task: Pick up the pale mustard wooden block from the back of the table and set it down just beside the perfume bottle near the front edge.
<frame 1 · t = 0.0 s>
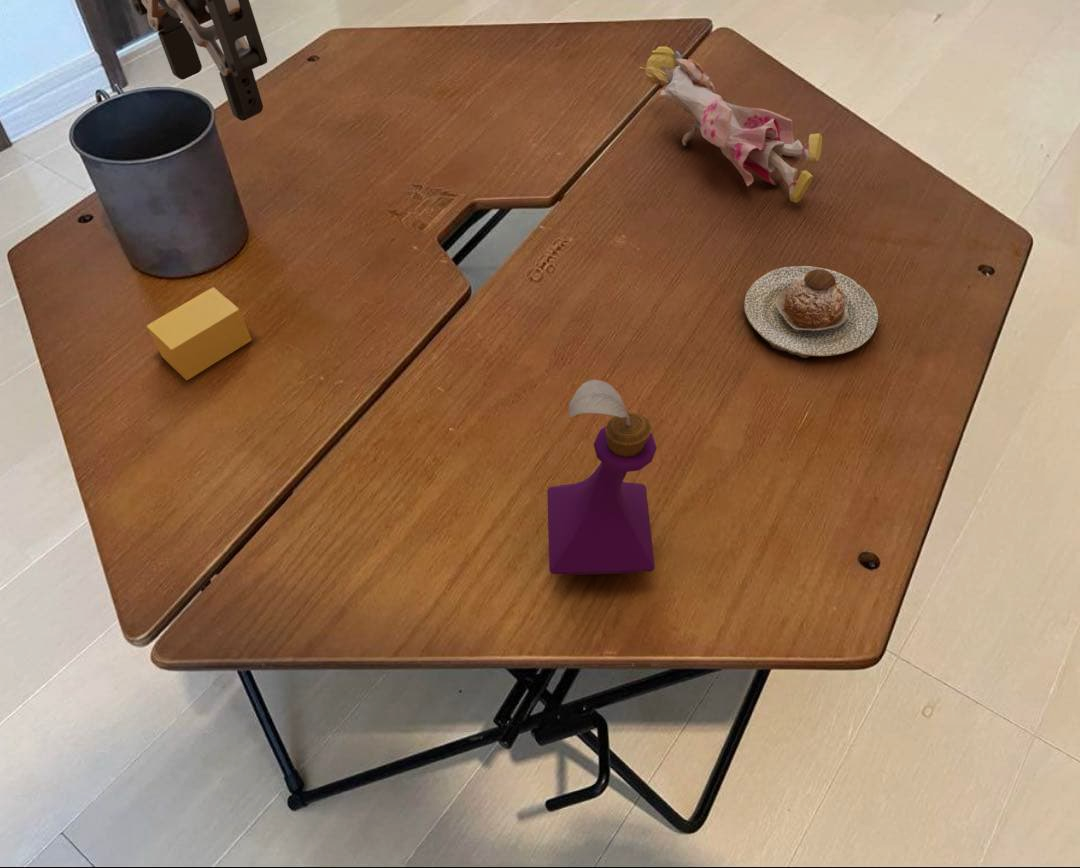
hand: (218, 94, 69), 22 cm above the table, tool pointing down, fingers open, 8 cm apart
block: (207, 348, 84), on the table
figurine: (713, 159, 100), on the table
perfume bottle: (598, 551, 69), on the table
pastry: (807, 318, 84), on the table
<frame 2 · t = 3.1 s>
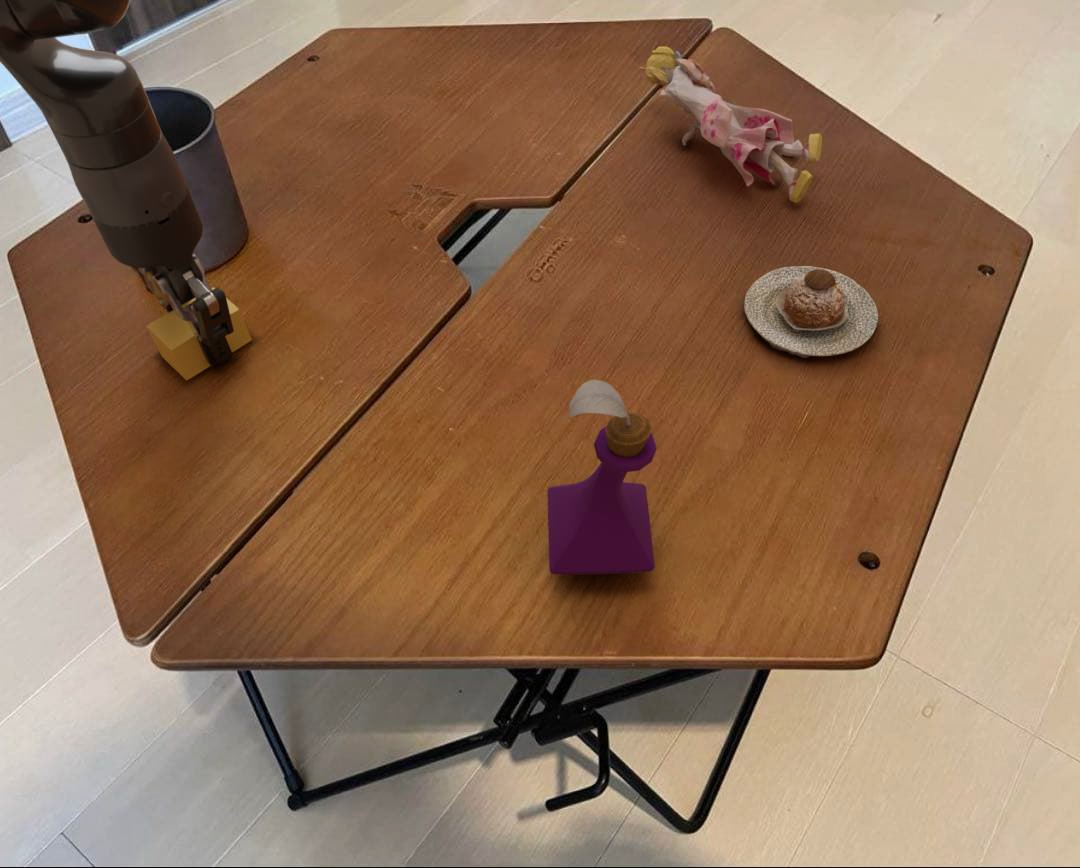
hand: (206, 346, 84), 0 cm above the table, tool pointing down, fingers closed on block, 4 cm apart
block: (207, 348, 84), on the table, touching gripper
everything else where it was.
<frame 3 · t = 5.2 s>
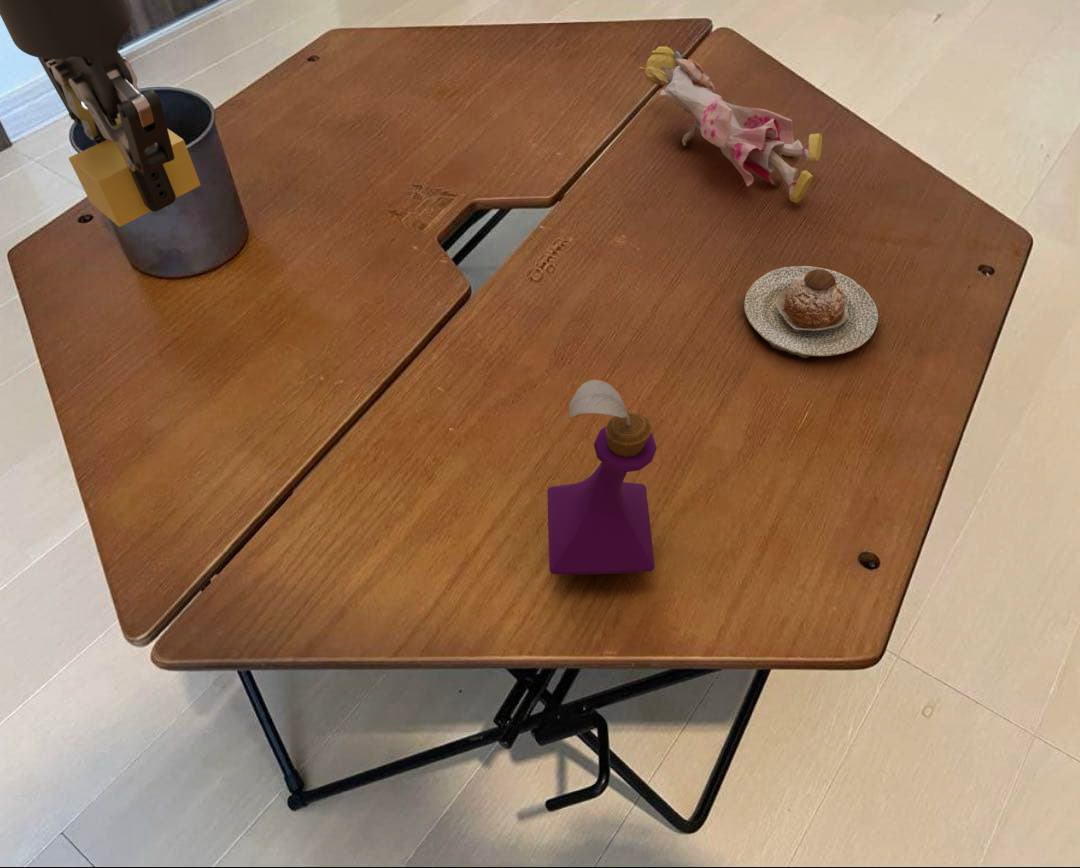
hand: (145, 190, 69), 18 cm above the table, tool pointing down, fingers closed on block, 4 cm apart
block: (146, 194, 69), point 18 cm above the table, touching gripper
everything else where it was.
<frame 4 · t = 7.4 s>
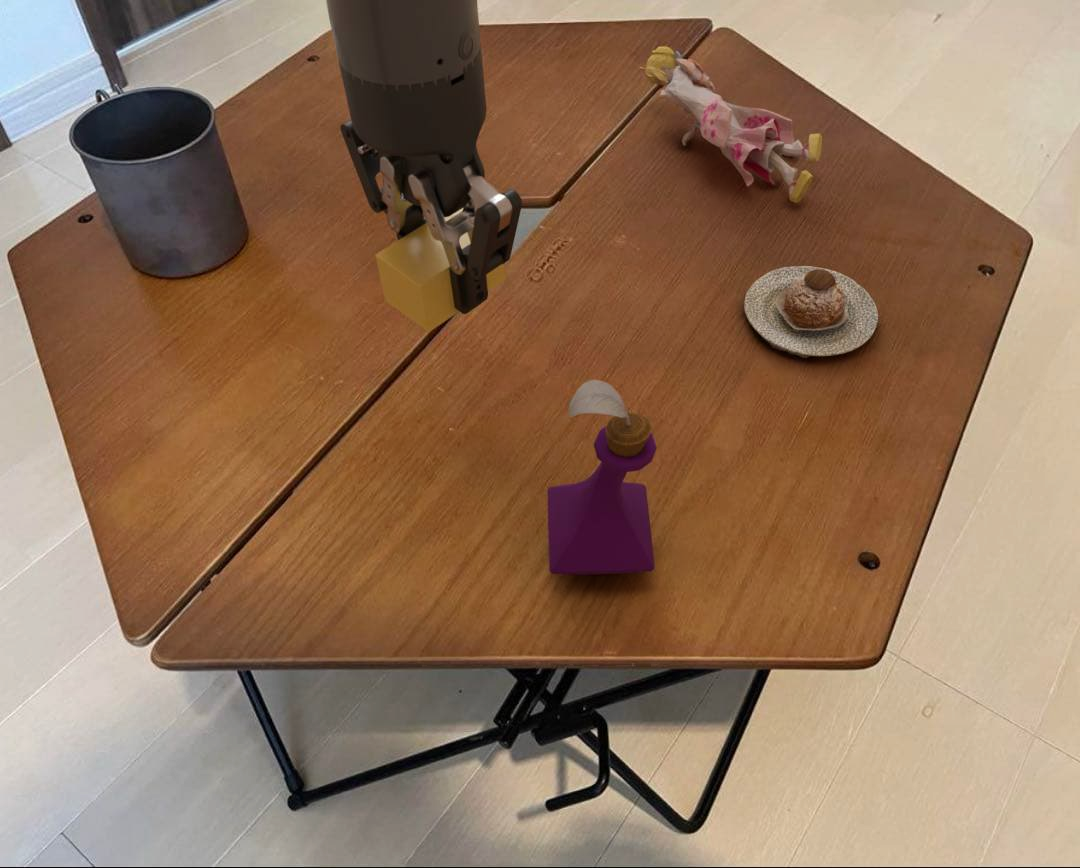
hand: (445, 287, 60), 19 cm above the table, tool pointing down, fingers closed on block, 4 cm apart
block: (446, 290, 61), point 18 cm above the table, touching gripper
everything else where it was.
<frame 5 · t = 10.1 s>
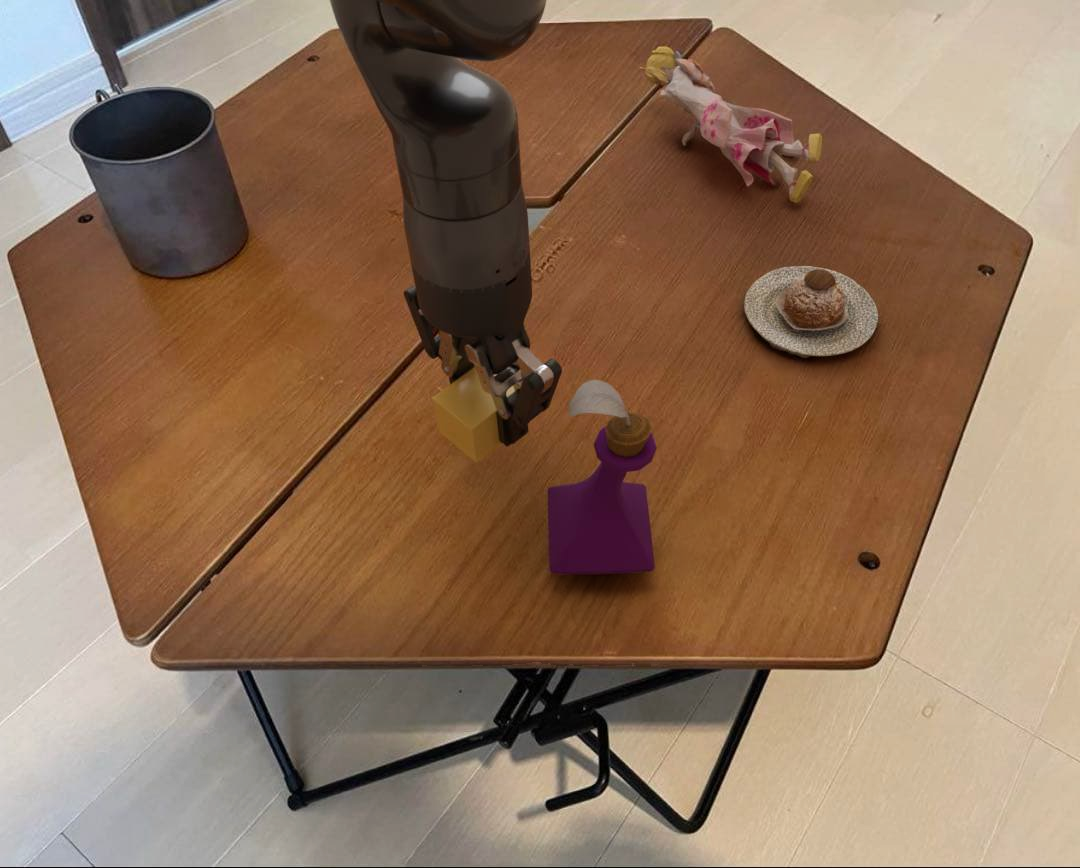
hand: (490, 419, 69), 6 cm above the table, tool pointing down, fingers closed on block, 4 cm apart
block: (491, 421, 70), point 6 cm above the table, touching gripper
everything else where it was.
when the fingers open (0 cm above the table, at t = 11.9 s): block stays where it is, on the table.
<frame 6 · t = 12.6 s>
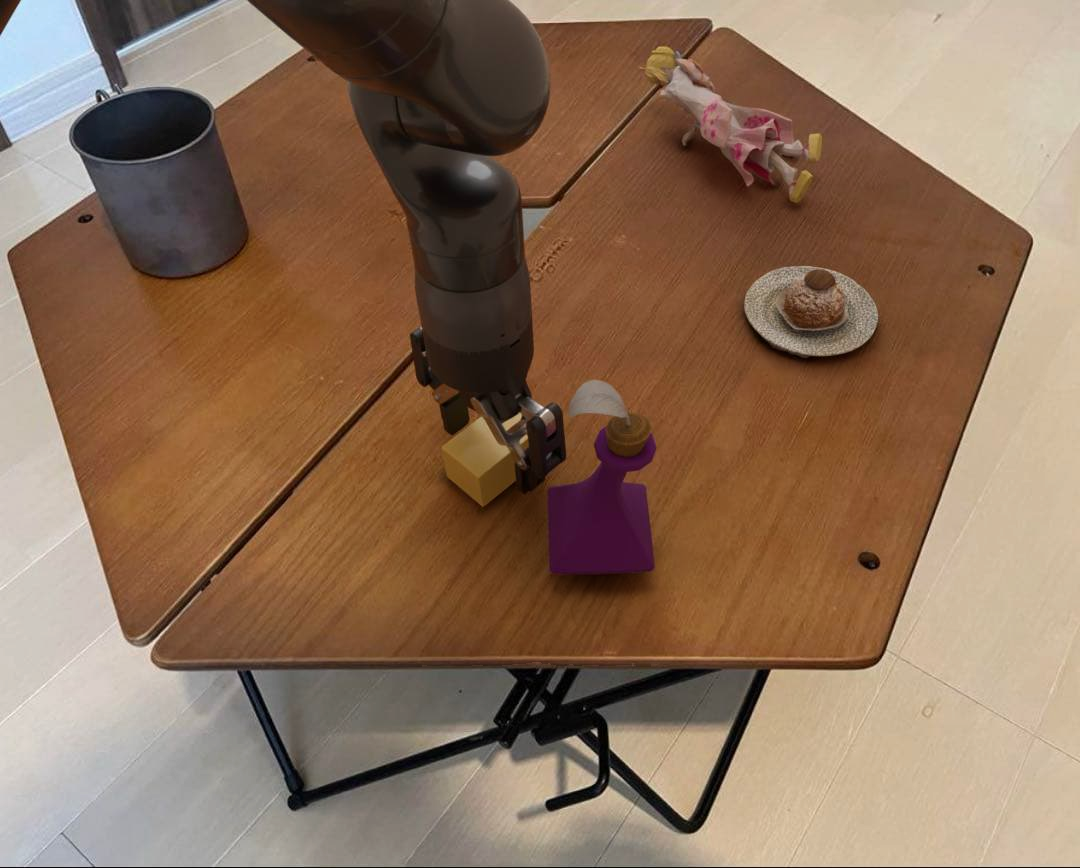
hand: (493, 456, 73), 2 cm above the table, tool pointing down, fingers open, 8 cm apart
block: (496, 466, 74), on the table
everything else where it was.
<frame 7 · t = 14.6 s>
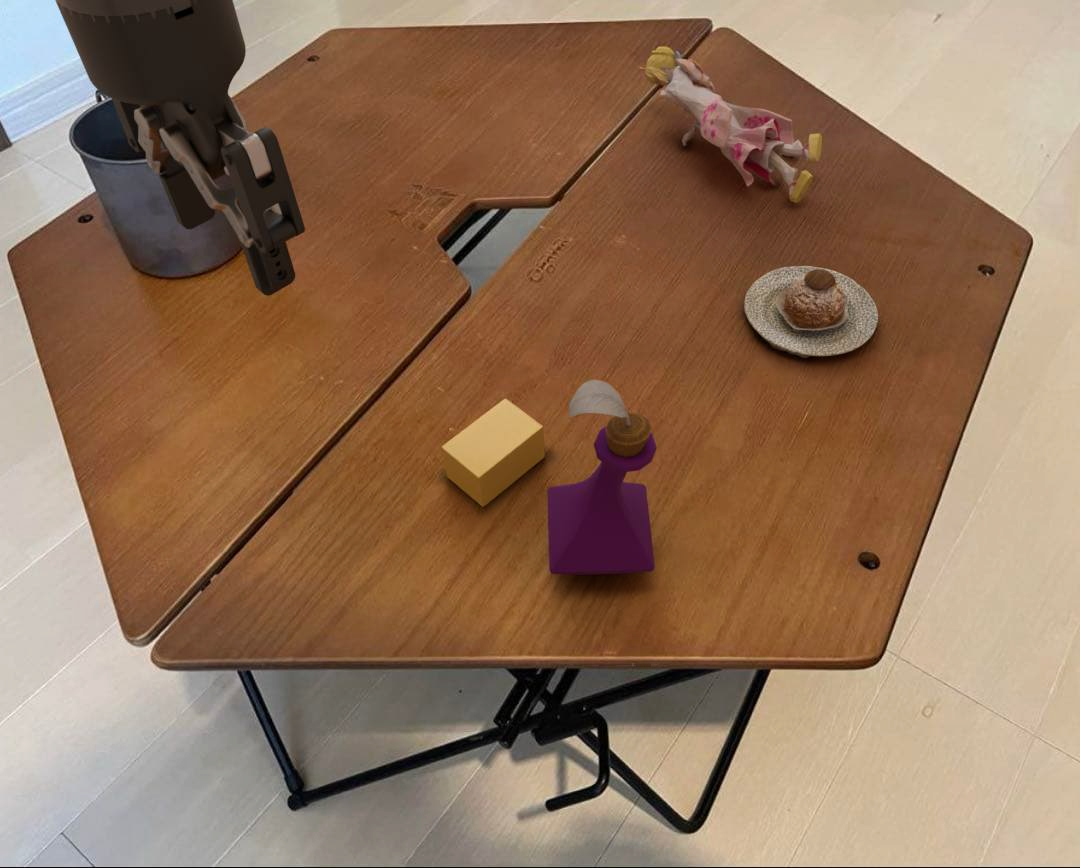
hand: (236, 253, 53), 25 cm above the table, tool pointing down, fingers open, 8 cm apart
nothing on the table moved.
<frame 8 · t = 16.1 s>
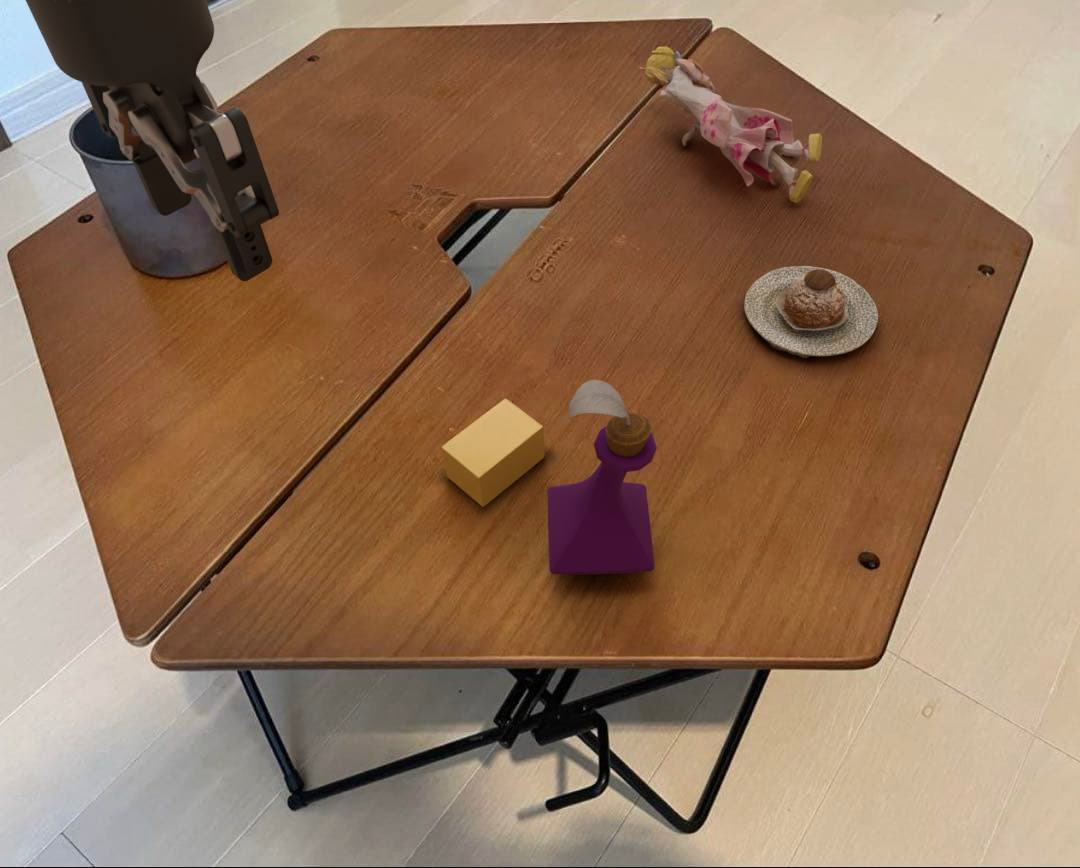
hand: (213, 238, 53), 26 cm above the table, tool pointing down, fingers open, 8 cm apart
nothing on the table moved.
at the end: block 11.5 cm from the perfume bottle (horizontally); block on the table; perfume bottle moved 0.2 cm from its start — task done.
